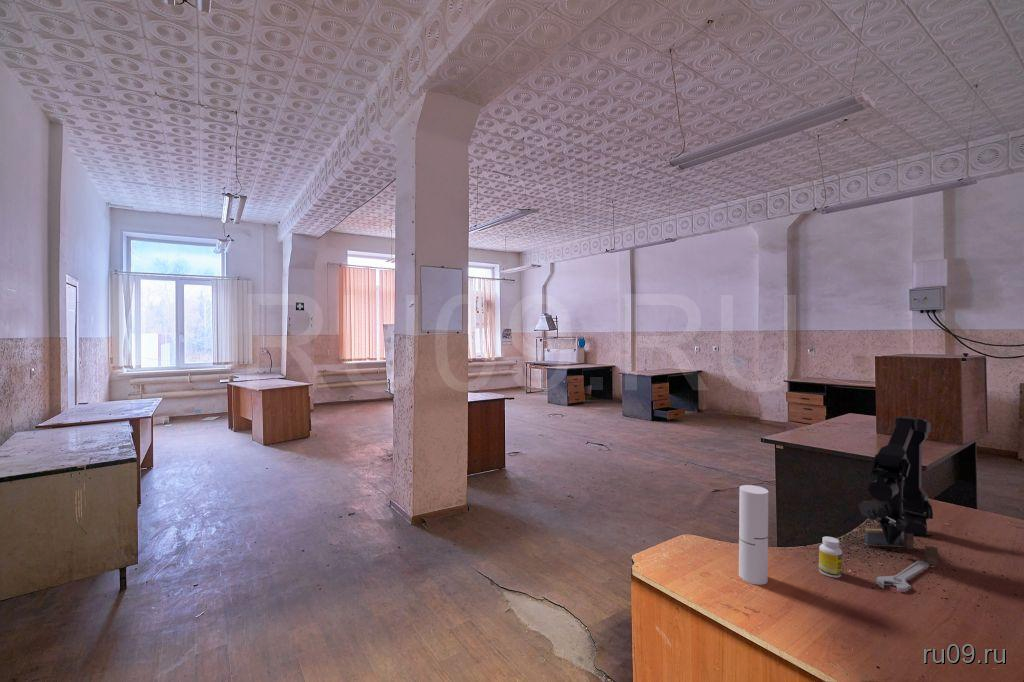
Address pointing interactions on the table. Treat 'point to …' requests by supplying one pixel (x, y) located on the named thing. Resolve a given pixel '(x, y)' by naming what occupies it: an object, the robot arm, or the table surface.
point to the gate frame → (930, 551)
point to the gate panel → (881, 538)
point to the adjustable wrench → (902, 576)
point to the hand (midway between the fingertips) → (890, 543)
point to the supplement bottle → (830, 557)
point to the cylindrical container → (753, 534)
